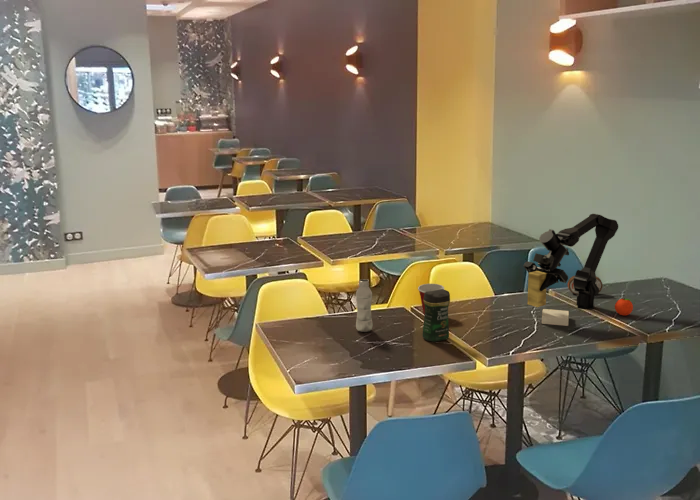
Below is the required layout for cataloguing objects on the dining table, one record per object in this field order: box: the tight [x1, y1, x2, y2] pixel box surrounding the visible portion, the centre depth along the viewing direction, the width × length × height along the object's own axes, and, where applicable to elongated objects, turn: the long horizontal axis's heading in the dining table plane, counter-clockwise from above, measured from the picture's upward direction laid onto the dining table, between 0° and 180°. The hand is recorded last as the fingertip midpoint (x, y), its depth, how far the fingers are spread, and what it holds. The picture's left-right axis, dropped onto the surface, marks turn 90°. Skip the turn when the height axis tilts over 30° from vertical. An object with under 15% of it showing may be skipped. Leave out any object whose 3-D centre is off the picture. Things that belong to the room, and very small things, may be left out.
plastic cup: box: [417, 283, 445, 316], centre depth 291 cm, size 11×11×12 cm
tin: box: [566, 275, 603, 295], centre depth 320 cm, size 15×3×8 cm, turn 84°
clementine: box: [614, 298, 635, 316], centre depth 289 cm, size 8×7×7 cm
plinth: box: [541, 308, 570, 327], centre depth 284 cm, size 10×10×3 cm
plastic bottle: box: [355, 278, 373, 333], centre depth 272 cm, size 6×7×20 cm
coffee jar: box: [421, 288, 451, 343], centre depth 263 cm, size 10×8×19 cm
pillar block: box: [527, 271, 547, 308], centre depth 282 cm, size 5×5×13 cm
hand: (534, 289), depth 282 cm, fingers closed on pillar block, 5 cm apart
